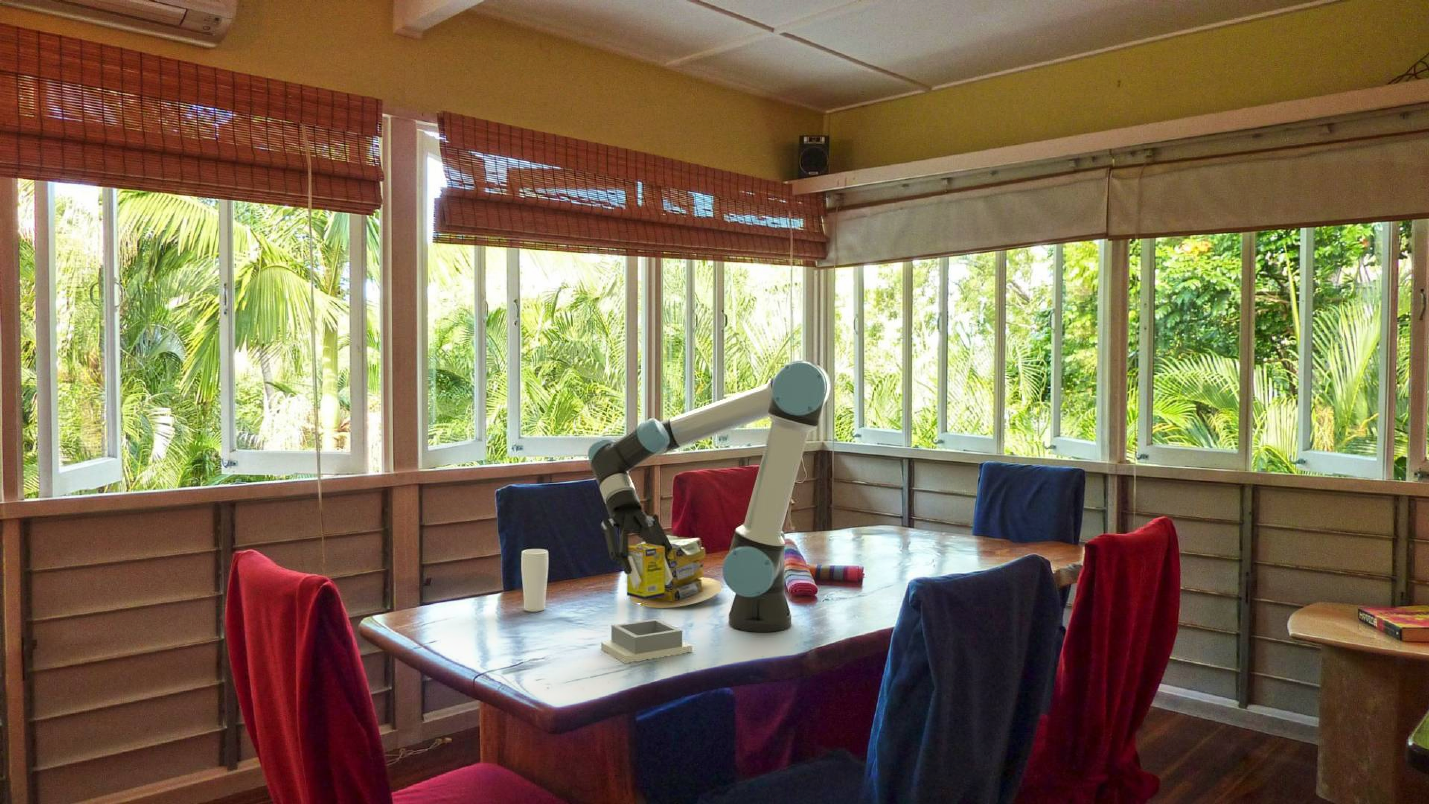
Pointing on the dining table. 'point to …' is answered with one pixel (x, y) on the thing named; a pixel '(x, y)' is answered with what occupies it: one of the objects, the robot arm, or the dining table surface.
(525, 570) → the drinking glass
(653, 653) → the box holder
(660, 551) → the supplement box
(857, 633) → the dining table surface
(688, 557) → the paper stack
